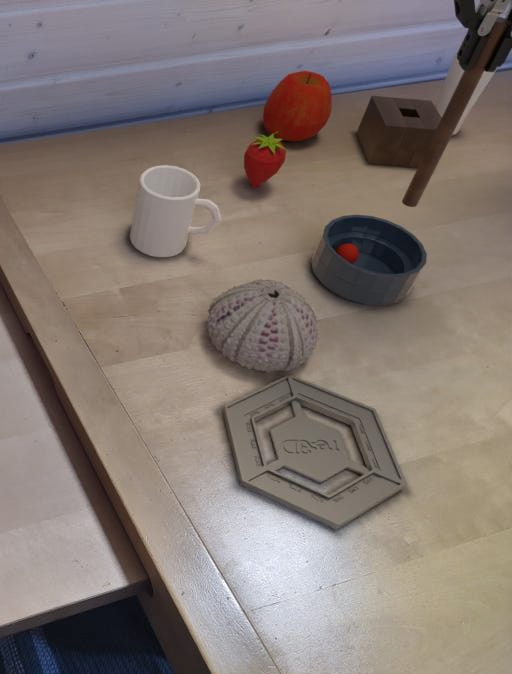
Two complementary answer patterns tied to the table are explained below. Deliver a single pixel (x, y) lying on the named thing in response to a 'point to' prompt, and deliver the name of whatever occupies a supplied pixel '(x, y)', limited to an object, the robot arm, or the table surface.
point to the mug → (168, 211)
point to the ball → (348, 252)
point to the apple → (298, 106)
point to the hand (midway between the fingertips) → (476, 67)
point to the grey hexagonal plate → (312, 451)
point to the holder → (397, 130)
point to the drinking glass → (450, 86)
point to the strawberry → (263, 159)
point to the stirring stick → (452, 116)
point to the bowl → (369, 260)
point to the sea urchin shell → (263, 326)
